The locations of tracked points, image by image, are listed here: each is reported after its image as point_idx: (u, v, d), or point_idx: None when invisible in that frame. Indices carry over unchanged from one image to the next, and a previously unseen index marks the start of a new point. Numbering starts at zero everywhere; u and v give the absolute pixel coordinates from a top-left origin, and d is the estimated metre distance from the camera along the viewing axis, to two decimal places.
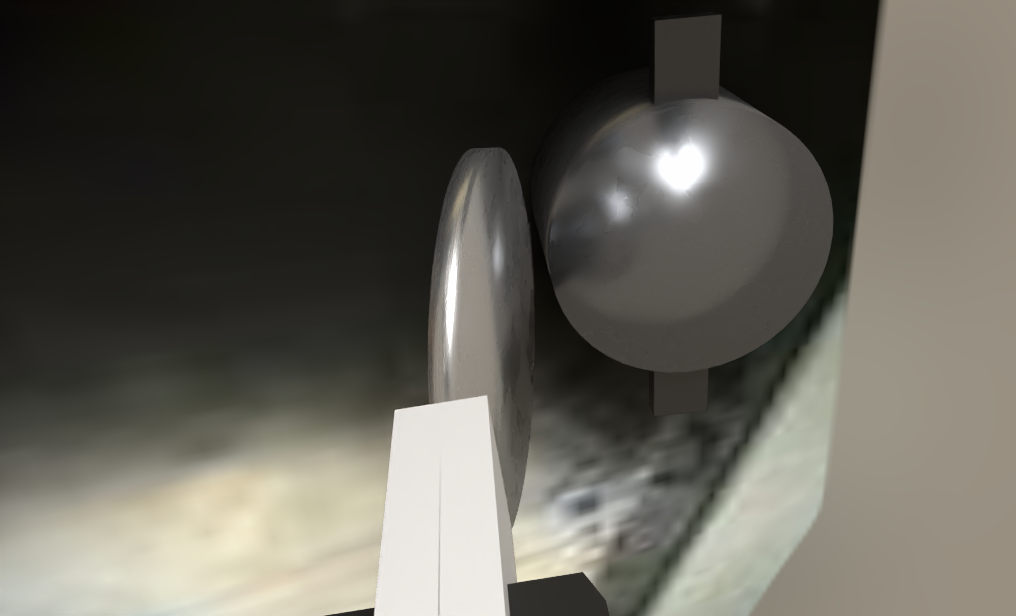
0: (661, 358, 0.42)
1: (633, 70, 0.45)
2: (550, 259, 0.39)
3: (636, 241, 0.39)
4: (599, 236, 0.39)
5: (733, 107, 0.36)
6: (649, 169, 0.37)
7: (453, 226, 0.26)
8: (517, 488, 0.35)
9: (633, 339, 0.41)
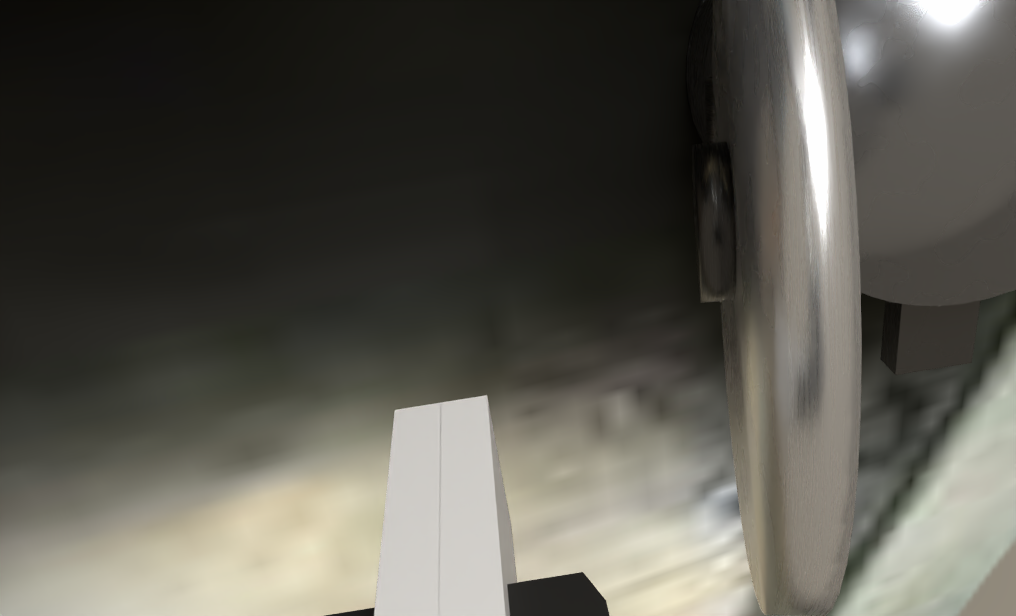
0: (927, 285, 0.28)
1: None
2: None
3: (908, 98, 0.25)
4: (851, 94, 0.25)
5: None
6: None
7: None
8: None
9: (889, 257, 0.27)
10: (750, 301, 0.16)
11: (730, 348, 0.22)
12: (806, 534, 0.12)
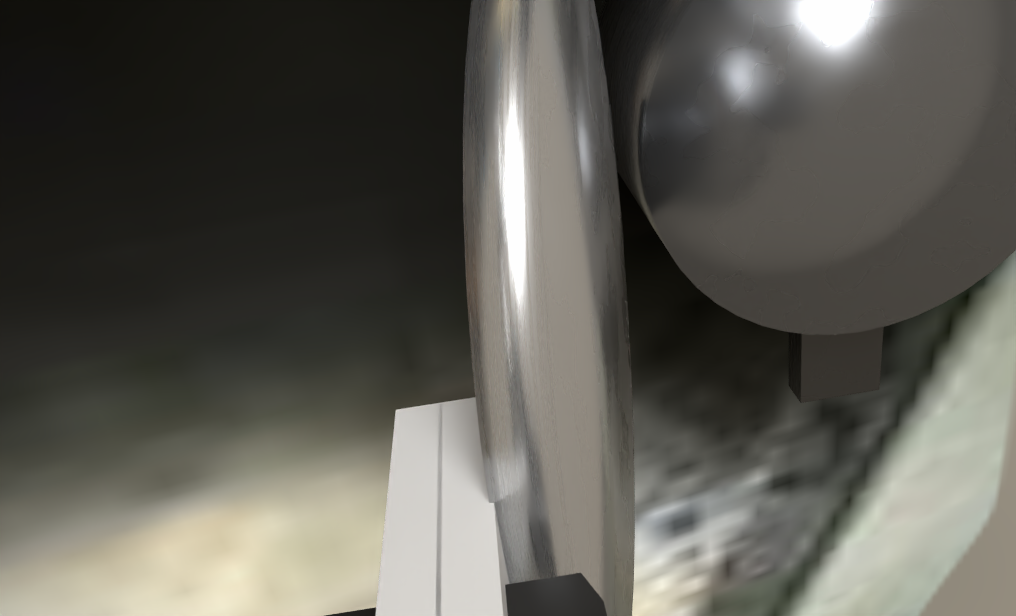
0: (820, 313, 0.27)
1: None
2: (645, 164, 0.24)
3: (784, 124, 0.24)
4: (724, 120, 0.24)
5: None
6: None
7: (505, 9, 0.11)
8: (630, 546, 0.20)
9: (777, 286, 0.27)
10: None
11: None
12: None
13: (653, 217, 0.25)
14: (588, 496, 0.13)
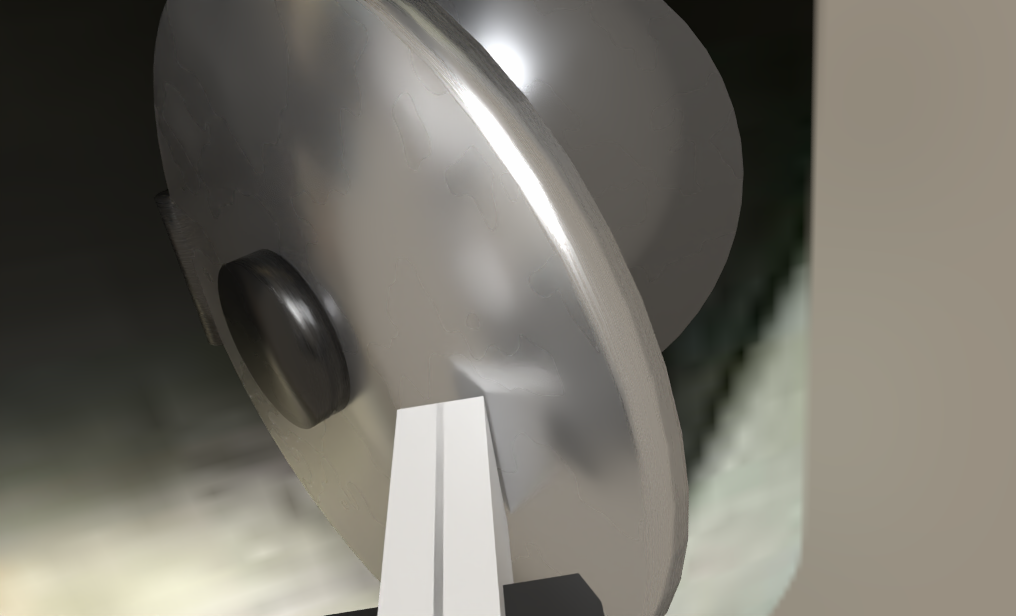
0: None
1: None
2: None
3: None
4: None
5: None
6: None
7: (412, 14, 0.11)
8: None
9: None
10: (431, 392, 0.14)
11: (334, 465, 0.20)
12: (659, 575, 0.12)
13: None
14: None
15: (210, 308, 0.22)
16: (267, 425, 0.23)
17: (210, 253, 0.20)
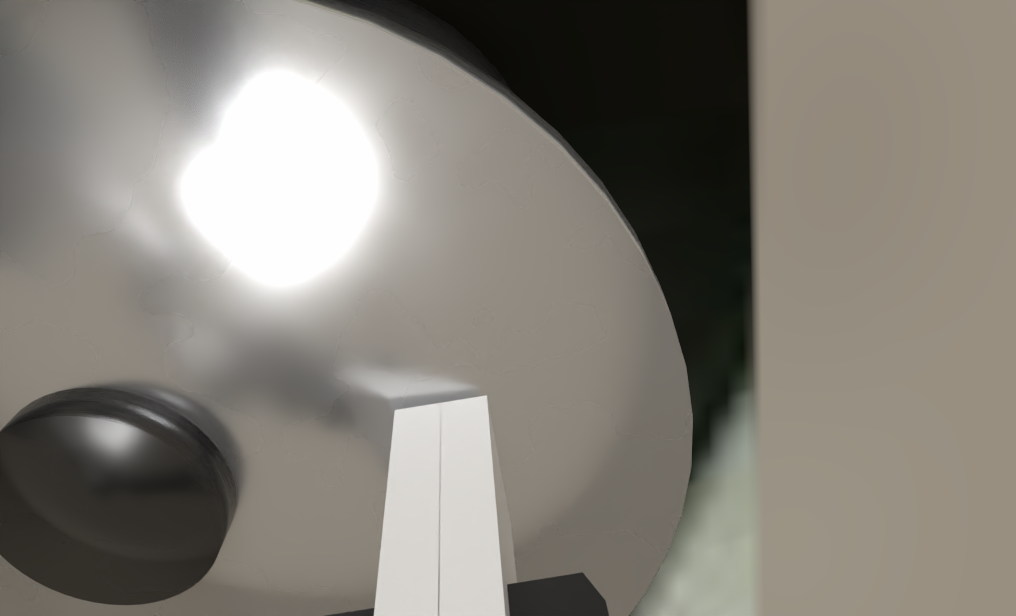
0: None
1: None
2: None
3: None
4: None
5: None
6: None
7: (379, 22, 0.11)
8: None
9: None
10: None
11: None
12: None
13: None
14: None
15: None
16: None
17: None
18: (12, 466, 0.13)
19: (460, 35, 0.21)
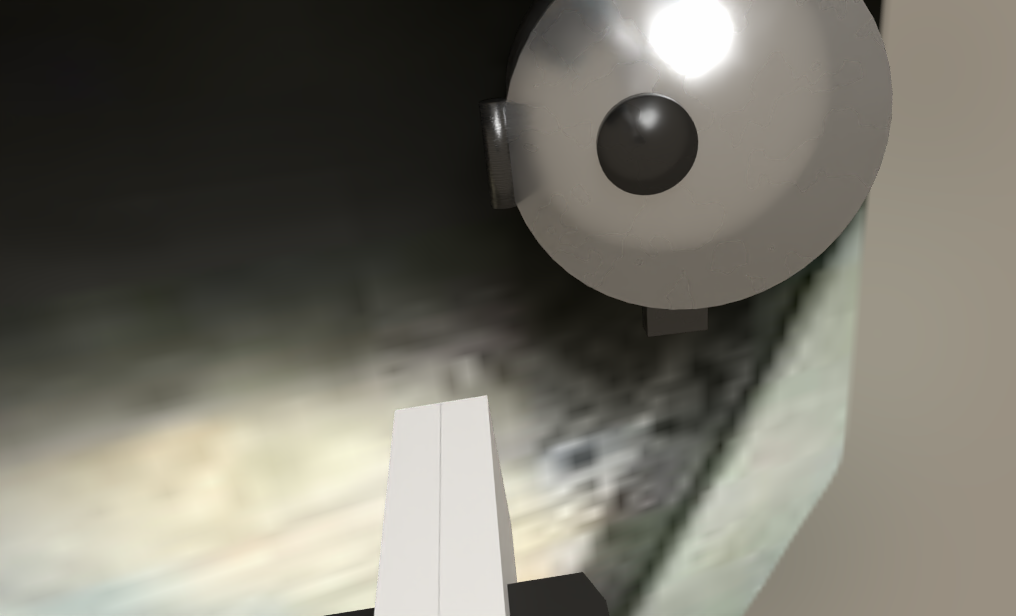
0: None
1: None
2: None
3: None
4: None
5: None
6: None
7: None
8: None
9: None
10: (770, 120, 0.32)
11: (640, 233, 0.35)
12: None
13: None
14: None
15: (515, 177, 0.34)
16: (551, 251, 0.35)
17: (547, 126, 0.33)
18: (623, 119, 0.32)
19: None
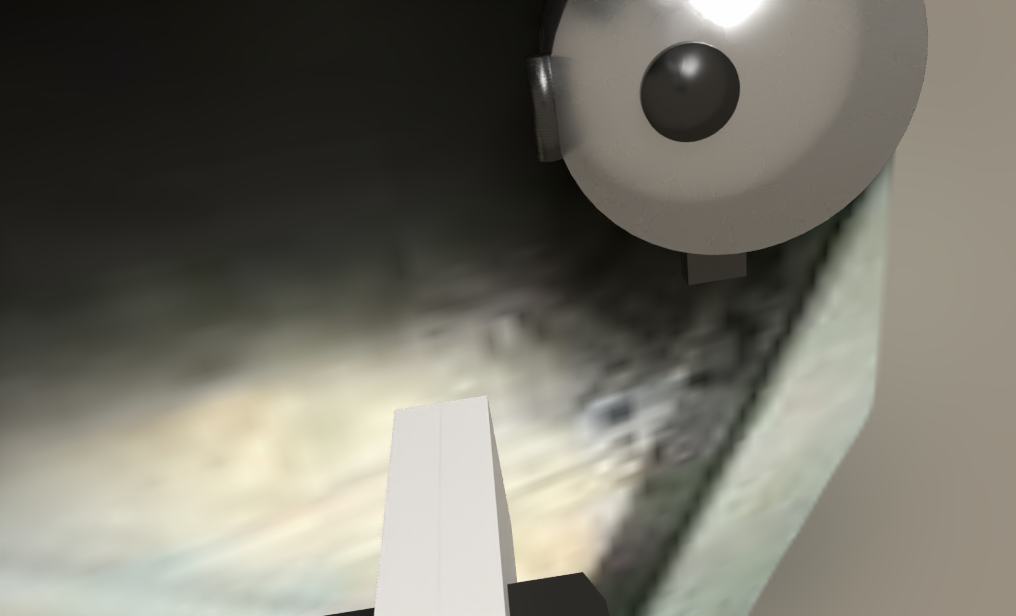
0: None
1: None
2: None
3: None
4: None
5: None
6: None
7: None
8: None
9: None
10: (809, 63, 0.33)
11: (683, 180, 0.36)
12: None
13: None
14: None
15: (561, 130, 0.35)
16: (597, 202, 0.36)
17: (592, 78, 0.34)
18: (666, 68, 0.33)
19: None
